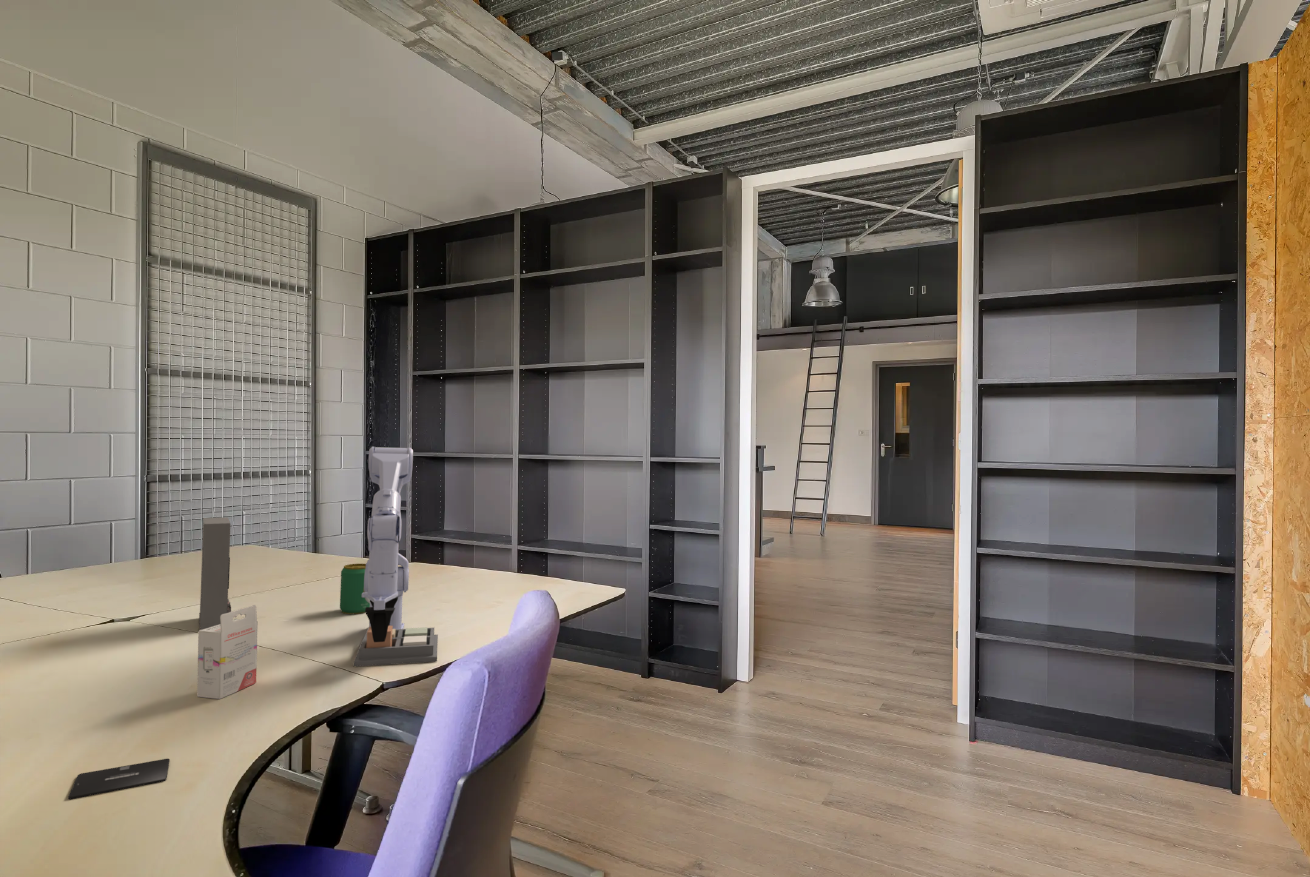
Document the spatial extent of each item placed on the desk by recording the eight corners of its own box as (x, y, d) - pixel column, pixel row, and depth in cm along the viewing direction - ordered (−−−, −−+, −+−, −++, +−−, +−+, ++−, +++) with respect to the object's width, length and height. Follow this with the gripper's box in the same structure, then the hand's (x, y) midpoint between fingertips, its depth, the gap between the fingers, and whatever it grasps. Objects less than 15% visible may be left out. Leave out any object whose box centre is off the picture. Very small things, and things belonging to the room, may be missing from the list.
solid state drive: (77, 778, 91) (78, 773, 91) (169, 762, 96) (170, 757, 96) (67, 802, 85) (67, 797, 85) (165, 784, 90) (166, 778, 90)
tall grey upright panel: (230, 628, 162) (234, 523, 162) (199, 631, 158) (203, 524, 159) (228, 615, 173) (231, 517, 174) (199, 618, 170) (202, 518, 170)
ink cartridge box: (234, 680, 128) (236, 602, 128) (257, 683, 127) (259, 604, 127) (194, 697, 119) (197, 612, 119) (218, 700, 118) (221, 615, 118)
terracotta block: (368, 650, 145) (369, 626, 145) (391, 648, 146) (392, 625, 146) (366, 656, 141) (366, 632, 141) (389, 655, 142) (390, 631, 142)
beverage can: (364, 615, 178) (366, 568, 178) (334, 614, 178) (335, 567, 178) (377, 607, 186) (378, 563, 186) (348, 606, 186) (349, 562, 186)
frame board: (363, 642, 154) (363, 627, 154) (437, 638, 158) (438, 623, 158) (353, 666, 137) (354, 649, 137) (436, 661, 142) (437, 644, 142)
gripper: (366, 566, 150) (364, 628, 149) (358, 579, 136) (356, 647, 136) (400, 565, 152) (398, 626, 151) (396, 578, 138) (394, 645, 138)
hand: (381, 636), depth 144 cm, fingers open, 7 cm apart
